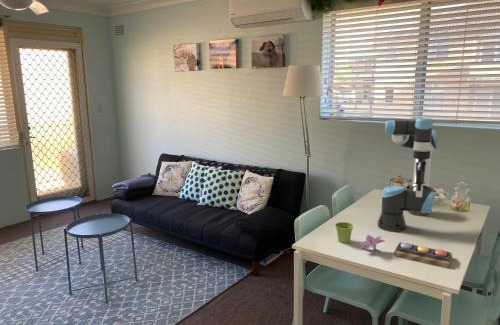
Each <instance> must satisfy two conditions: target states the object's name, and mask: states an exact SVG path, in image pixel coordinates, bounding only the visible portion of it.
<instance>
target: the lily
mask: <svg viewBox="0 0 500 325" xmlns="http://www.w3.org/2000/svg"><path fill="white" fill-rule="evenodd" d="M381 238H382V236H381V235H380V236H377V237H374V236H372V235H370V234H367V235H366V237H365V241H361V242H359V244H361V249H364V248H367V247H370V248H372V249H373V253H374V255H376V252H375V249H377V244H380V243H383V242H386V240H385V239H381Z"/></svg>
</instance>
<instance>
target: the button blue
mask: <svg viewBox="0 0 500 325" xmlns="http://www.w3.org/2000/svg"><path fill="white" fill-rule="evenodd" d="M411 244H412V243H408V242H402V243H401V248H404V249H409V250H411V249H412V245H413V244H412V245H411Z"/></svg>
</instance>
